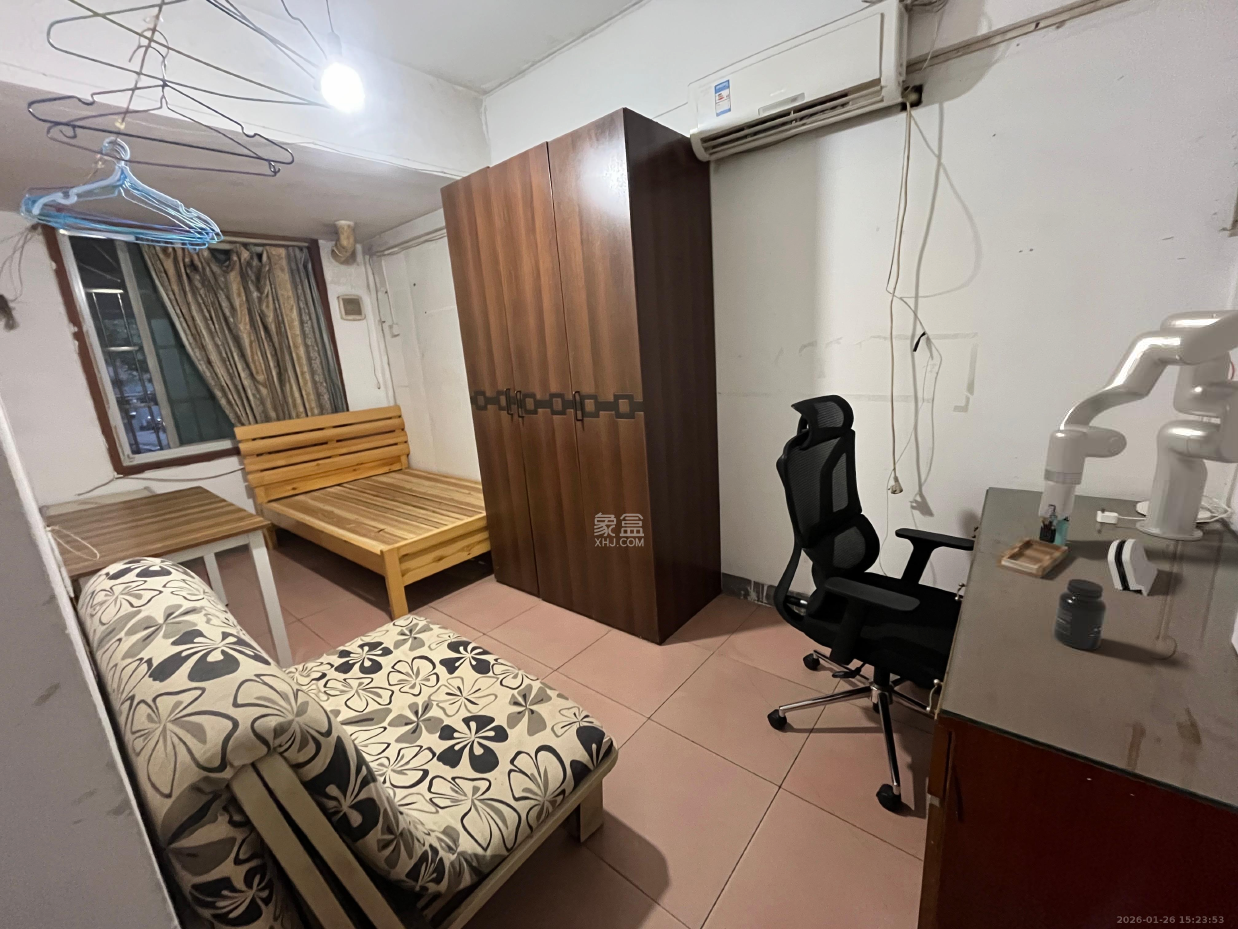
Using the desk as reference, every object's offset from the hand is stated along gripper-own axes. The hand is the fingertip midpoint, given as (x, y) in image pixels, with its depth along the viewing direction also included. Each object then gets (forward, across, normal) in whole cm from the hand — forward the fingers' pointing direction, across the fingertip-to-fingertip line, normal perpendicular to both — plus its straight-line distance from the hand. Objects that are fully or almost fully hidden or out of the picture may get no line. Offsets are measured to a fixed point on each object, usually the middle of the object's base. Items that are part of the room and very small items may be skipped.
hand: (1053, 536), depth 136 cm
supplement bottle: (+3, +48, +17) cm, 51 cm away
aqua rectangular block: (+3, 0, 0) cm, 3 cm away
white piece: (+3, +10, +17) cm, 20 cm away
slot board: (+2, +14, 0) cm, 15 cm away
